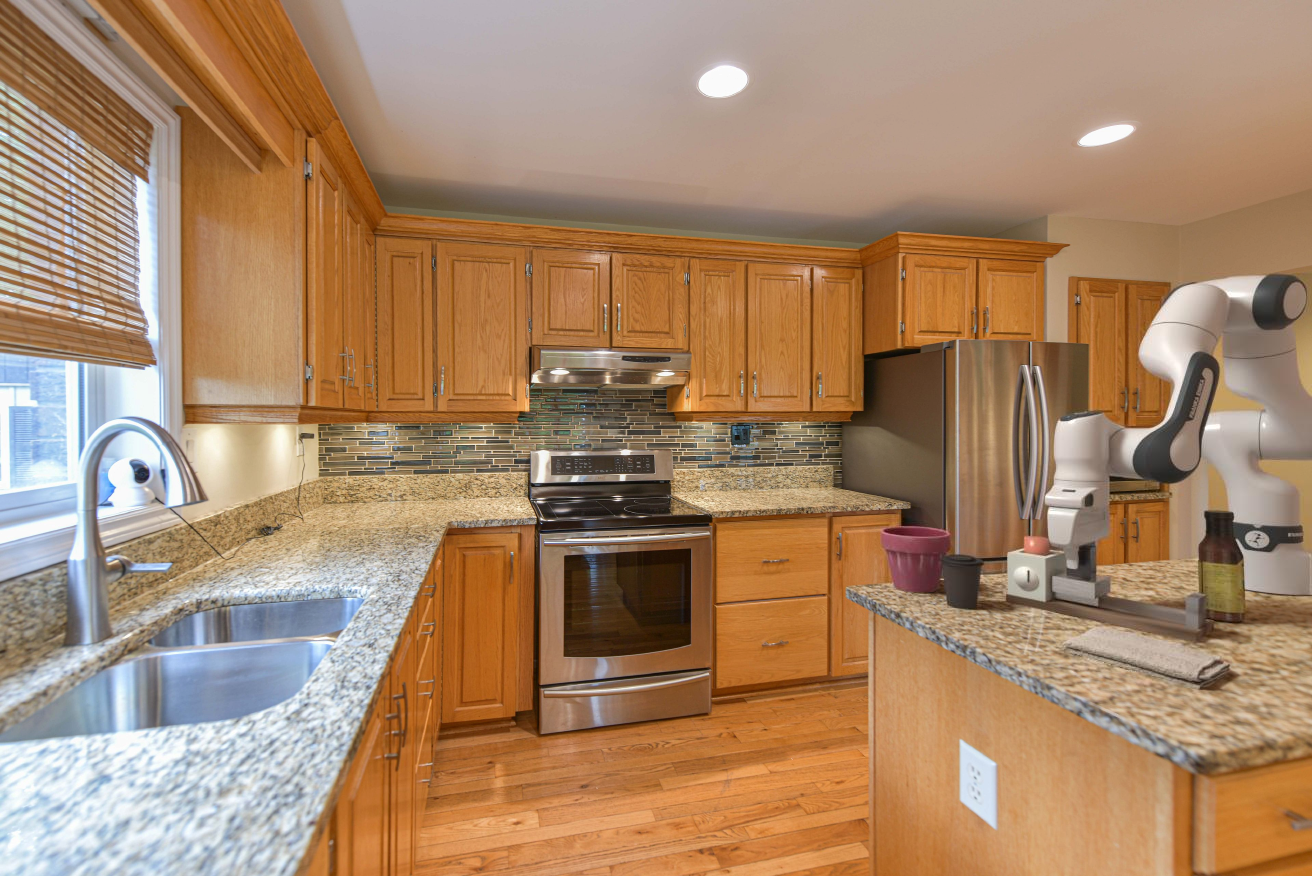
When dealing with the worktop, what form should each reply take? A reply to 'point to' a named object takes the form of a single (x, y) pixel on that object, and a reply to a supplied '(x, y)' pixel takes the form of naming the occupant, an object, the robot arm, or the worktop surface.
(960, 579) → the coffee cup
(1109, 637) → the washcloth
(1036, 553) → the plunger
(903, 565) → the plant pot
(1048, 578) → the gauge cabinet
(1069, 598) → the carriage
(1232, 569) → the sauce bottle
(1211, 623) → the rail board
